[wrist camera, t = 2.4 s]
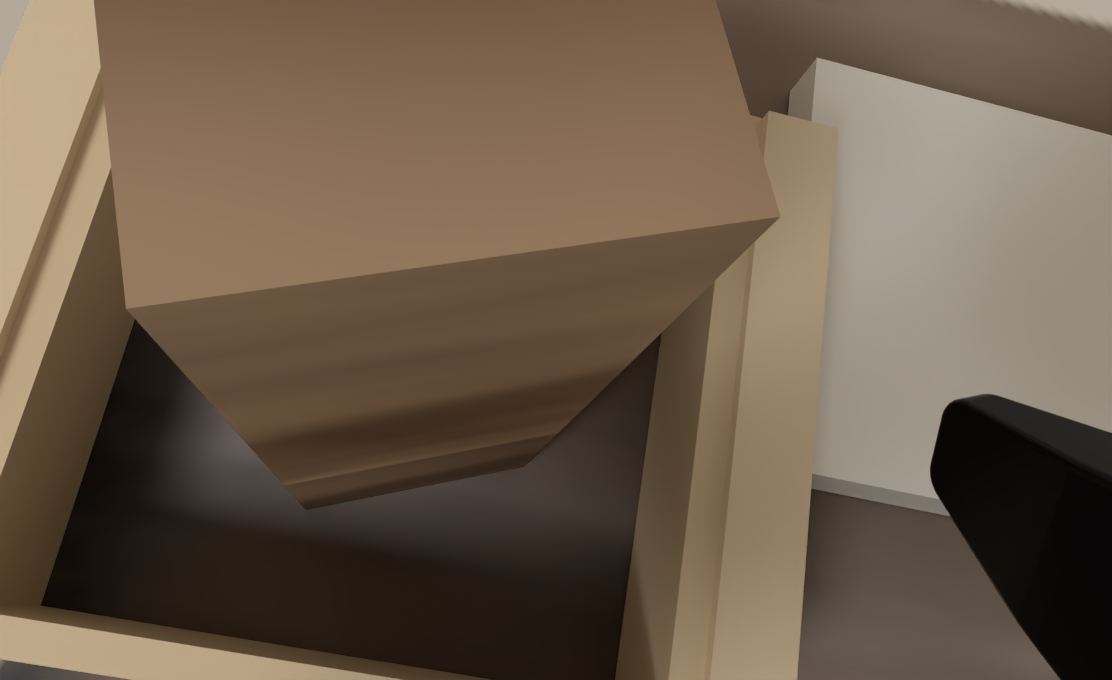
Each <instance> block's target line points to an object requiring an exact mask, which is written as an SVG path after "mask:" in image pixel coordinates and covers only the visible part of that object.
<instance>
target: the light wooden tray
mask: <svg viewBox="0 0 1112 680" xmlns="http://www.w3.org/2000/svg"><path fill="white" fill-rule="evenodd" d="M750 116H751V119H752V122H753V126H754V129H755V133H756V136H757V139H758V143H759V146H760V149H761V153H762V156H763V159H764V163H765V166H766V169H767V173H768V176H769V179H770V183H771V186H772V189H773V193H774V196H775V199H776V203H777V206H778V210H779V213H780V216H781V217H780V218H779V219H778V220H777V221H776V222H775V223H774V224H773V225H772V226H770V227H769V228H768V229H767V230H766V231H765V232H764V233H763V234H762V235H761V236H760V237H759V238H758V239H757V240H756V241H755V242H754V243H753V244H752V245H751V246H750V247H749V248H748V249H747V250H746V251H745V252H744V253H743V254H742V255H741V256H740V257H739V258H738V259H737V260H736V261H735V262H734V263H732V264H731V265H730V266H729V267H728V268H727V269H726V270H725V271H724V272H723V273H722V274H721V275H720V276H719V277H718V278H717V279H716V280H715V281H714V282H713V283H712V284H711V285H710V286H709V287H708V288H707V289H706V290H705V291H704V292H703V293H702V294H701V295H700V296H699V297H698V298H697V299H696V300H694V301H693V302H692V303H691V304H690V305H689V306H688V307H687V308H686V309H685V310H684V311H683V312H682V313H681V314H680V315H679V316H678V317H677V318H676V319H675V320H674V321H673V322H672V323H671V324H670V325H669V326H668V327H667V328H666V329H665V330H664V331H663V332H662V333H661V340H660V348H659V355H658V363H657V370H656V378H655V385H654V392H653V400H652V407H651V415H650V422H649V430H648V437H647V445H646V452H645V459H644V467H643V474H642V482H641V489H640V497H639V504H638V512H637V519H636V526H635V534H634V541H633V549H632V556H631V564H630V571H629V579H628V586H627V594H626V601H625V608H624V616H623V623H622V631H621V638H620V646H619V653H618V661H617V668H616V675H615V680H797V671H798V658H799V645H800V631H801V618H802V605H803V591H804V578H805V565H806V551H807V538H808V525H809V511H810V498H811V485H812V471H813V458H814V445H815V431H816V418H817V405H818V391H819V378H820V364H821V351H822V338H823V324H824V311H825V298H826V284H827V271H828V258H829V244H830V231H831V218H832V204H833V191H834V178H835V164H836V151H837V138H838V128H835V127H831V126H827V125H823V124H819V123H815V122H811V121H808V120H804V119H800V118H796V117H792V116H788V115H784V114H780V113H776V112H772V111H768V112H767V113H766V115H765V116H764V117H763V118H760V117H756V116H752V115H750ZM134 321H135V318H134V317H133V316H132V315H131V314H130V313H129V312H128V310H127V309H126V304H125V294H124V285H123V275H122V266H121V256H120V247H119V237H118V228H117V218H116V208H115V199H114V189H113V180H112V170H111V161H110V151H109V142H108V132H107V123H106V113H105V104H104V94H103V85H102V75H101V66H100V56H99V47H98V37H97V28H96V18H95V9H94V0H30V2H29V5H28V7H27V9H26V12H25V14H24V17H23V19H22V21H21V24H20V26H19V29H18V31H17V33H16V36H15V38H14V41H13V43H12V45H11V48H10V50H9V53H8V55H7V57H6V60H5V62H4V65H3V67H2V69H1V72H0V659H3V660H9V661H16V662H22V663H28V664H35V665H41V666H48V667H54V668H60V669H67V670H73V671H80V672H86V673H93V674H99V675H105V676H112V677H118V678H125V679H131V680H492V679H485V678H479V677H473V676H467V675H461V674H455V673H449V672H443V671H437V670H430V669H424V668H418V667H412V666H406V665H400V664H394V663H388V662H382V661H376V660H369V659H363V658H357V657H351V656H345V655H339V654H333V653H327V652H321V651H314V650H308V649H302V648H296V647H290V646H284V645H278V644H272V643H266V642H260V641H253V640H247V639H241V638H235V637H229V636H223V635H217V634H211V633H205V632H198V631H192V630H186V629H180V628H174V627H168V626H162V625H156V624H150V623H144V622H137V621H131V620H125V619H119V618H113V617H107V616H101V615H95V614H89V613H83V612H76V611H70V610H64V609H58V608H52V607H46V606H41V603H42V600H43V597H44V594H45V591H46V588H47V585H48V582H49V579H50V576H51V573H52V570H53V567H54V564H55V560H56V557H57V554H58V551H59V548H60V545H61V542H62V539H63V536H64V533H65V530H66V527H67V524H68V521H69V518H70V515H71V512H72V509H73V506H74V503H75V500H76V497H77V494H78V491H79V488H80V485H81V482H82V479H83V475H84V472H85V469H86V466H87V463H88V460H89V457H90V454H91V451H92V448H93V445H94V442H95V439H96V436H97V433H98V430H99V427H100V424H101V421H102V418H103V415H104V412H105V409H106V406H107V403H108V400H109V397H110V393H111V390H112V387H113V384H114V381H115V378H116V375H117V372H118V369H119V366H120V363H121V360H122V357H123V354H124V351H125V348H126V345H127V342H128V339H129V336H130V333H131V330H132V327H133V324H134Z"/></svg>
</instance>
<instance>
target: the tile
mask: <svg viewBox="0 0 1112 680" xmlns="http://www.w3.org/2000/svg"><path fill="white" fill-rule="evenodd" d="M788 116H792V117H796V118H800V119H804V120H808V121H811V122H815V123H819V124H823V125H827V126H831V127H835V128H838V138H837V151H836V164H835V178H834V191H833V204H832V218H831V231H830V244H829V258H828V271H827V284H826V298H825V311H824V324H823V338H822V351H821V364H820V378H819V391H818V405H817V418H816V431H815V445H814V458H813V471H812V485H811V489H816V490H821V491H826V492H831V493H836V494H841V495H846V496H851V497H856V498H861V499H866V500H871V501H876V502H881V503H886V504H891V505H896V506H901V507H906V508H911V509H916V510H921V511H926V512H931V513H936V514H941V515H946V516H950V515H949V513H948V512H947V510H946V509H945V507H944V505H943V504H942V502H941V501H940V499H939V497H938V496H937V494H936V492H935V490H934V488H933V485H932V482H931V477H930V464H931V459H932V455H933V451H934V447H935V442H936V438H937V434H938V430H939V426H940V421H941V417H942V414H943V411H944V409H945V408H946V406H947V405H948V404H949V403H950V402H952V401H953V400H956V399H960V398H965V397H970V396H975V395H980V394H994V395H998V396H1001V397H1004V398H1007V399H1010V400H1013V401H1016V402H1019V403H1022V404H1025V405H1028V406H1031V407H1034V408H1037V409H1040V410H1043V411H1047V412H1050V413H1053V414H1056V415H1059V416H1062V417H1065V418H1068V419H1071V420H1074V421H1077V422H1080V423H1083V424H1086V425H1089V426H1092V427H1095V428H1098V429H1101V430H1104V431H1108V432H1111V433H1112V135H1108V134H1104V133H1100V132H1097V131H1093V130H1089V129H1085V128H1082V127H1078V126H1074V125H1070V124H1066V123H1063V122H1059V121H1055V120H1051V119H1047V118H1044V117H1040V116H1036V115H1032V114H1029V113H1025V112H1021V111H1017V110H1013V109H1010V108H1006V107H1002V106H998V105H995V104H991V103H987V102H983V101H979V100H976V99H972V98H968V97H964V96H960V95H957V94H953V93H949V92H945V91H942V90H938V89H934V88H930V87H926V86H923V85H919V84H915V83H911V82H907V81H904V80H900V79H896V78H892V77H889V76H885V75H881V74H877V73H873V72H870V71H866V70H862V69H858V68H855V67H851V66H847V65H843V64H839V63H836V62H832V61H828V60H824V59H820V58H816V59H815V61H814V62H813V63H812V64H811V66H810V67H809V68H808V70H807V71H806V72H805V73H804V75H803V76H802V77H801V78H800V80H799V81H798V82H797V83H796V85H795V86H794V87H793V88H792V90H791V91H790V98H789V109H788Z"/></svg>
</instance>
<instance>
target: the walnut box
mask: <svg viewBox="0 0 1112 680" xmlns="http://www.w3.org/2000/svg"><path fill="white" fill-rule="evenodd" d="M94 9H95V18H96V28H97V37H98V47H99V56H100V66H101V75H102V85H103V94H104V104H105V113H106V123H107V132H108V142H109V151H110V161H111V170H112V180H113V189H114V199H115V208H116V218H117V228H118V237H119V247H120V256H121V266H122V275H123V285H124V294H125V304H126V309H127V310H128V312H129V313H130V314H131V315H132V316H133V317H134V318H135V319H136V320H137V322H138V323H139V324H140V325H141V326H142V327H143V328H144V329H145V330H146V332H147V333H148V334H149V335H150V336H151V337H152V338H153V339H154V341H155V342H156V343H157V344H158V345H159V346H160V347H161V348H162V349H163V351H164V352H165V353H166V354H167V355H168V356H169V357H170V358H171V360H172V361H173V362H174V363H175V364H176V365H177V366H178V367H179V368H180V370H181V371H182V372H183V373H184V374H185V375H186V376H187V377H188V378H189V380H190V381H191V382H192V383H193V384H194V385H195V386H196V387H197V389H198V390H199V391H200V392H201V393H202V394H203V395H204V396H205V397H206V399H207V400H208V401H209V402H210V403H211V404H212V405H213V406H214V407H215V409H216V410H217V411H218V412H219V413H220V414H221V415H222V416H223V418H224V419H225V420H226V421H227V422H228V423H229V424H230V425H231V426H232V428H233V429H234V430H235V431H236V432H237V433H238V434H239V435H240V436H241V438H242V439H243V440H244V441H245V442H246V443H247V444H248V445H249V447H250V448H251V449H252V450H253V451H254V452H255V453H256V454H257V455H258V457H259V458H260V459H261V460H262V461H263V462H264V463H265V464H266V465H267V467H268V468H269V469H270V470H271V471H272V472H273V473H274V474H275V476H276V477H277V478H278V479H279V480H280V481H281V482H282V483H283V484H284V486H285V487H286V488H287V489H288V490H289V491H290V492H291V493H292V494H293V496H294V497H295V498H296V499H297V500H298V501H299V502H300V503H301V505H302V506H303V507H304V508H305V509H306V510H307V509H312V508H317V507H322V506H327V505H333V504H338V503H343V502H348V501H353V500H358V499H363V498H368V497H373V496H378V495H383V494H388V493H393V492H398V491H403V490H408V489H413V488H418V487H424V486H429V485H434V484H439V483H444V482H449V481H454V480H459V479H464V478H469V477H474V476H479V475H484V474H489V473H494V472H499V471H504V470H509V469H515V468H520V467H524V466H525V465H526V464H527V463H528V462H529V461H530V460H531V459H532V458H533V457H534V456H535V455H536V454H537V453H538V452H539V451H540V450H541V449H542V448H543V447H545V446H546V445H547V444H548V443H549V442H550V441H551V440H552V439H553V438H554V437H555V436H556V435H557V434H558V433H559V432H560V431H561V430H562V429H563V428H564V427H565V426H566V425H567V424H568V423H569V422H570V421H571V420H572V419H573V418H574V417H575V416H576V415H577V414H578V413H579V412H580V411H581V410H583V409H584V408H585V407H586V406H587V405H588V404H589V403H590V402H591V401H592V400H593V399H594V398H595V397H596V396H597V395H598V394H599V393H600V392H601V391H602V390H603V389H604V388H605V387H606V386H607V385H608V384H609V383H610V382H611V381H612V380H613V379H614V378H615V377H616V376H617V375H618V374H620V373H621V372H622V371H623V370H624V369H625V368H626V367H627V366H628V365H629V364H630V363H631V362H632V361H633V360H634V359H635V358H636V357H637V356H638V355H639V354H640V353H641V352H642V351H643V350H644V349H645V348H646V347H647V346H648V345H649V344H650V343H651V342H652V341H653V340H654V339H655V338H656V337H658V336H659V335H660V334H661V333H662V332H663V331H664V330H665V329H666V328H667V327H668V326H669V325H670V324H671V323H672V322H673V321H674V320H675V319H676V318H677V317H678V316H679V315H680V314H681V313H682V312H683V311H684V310H685V309H686V308H687V307H688V306H689V305H690V304H691V303H692V302H693V301H694V300H696V299H697V298H698V297H699V296H700V295H701V294H702V293H703V292H704V291H705V290H706V289H707V288H708V287H709V286H710V285H711V284H712V283H713V282H714V281H715V280H716V279H717V278H718V277H719V276H720V275H721V274H722V273H723V272H724V271H725V270H726V269H727V268H728V267H729V266H730V265H731V264H732V263H734V262H735V261H736V260H737V259H738V258H739V257H740V256H741V255H742V254H743V253H744V252H745V251H746V250H747V249H748V248H749V247H750V246H751V245H752V244H753V243H754V242H755V241H756V240H757V239H758V238H759V237H760V236H761V235H762V234H763V233H764V232H765V231H766V230H767V229H768V228H769V227H770V226H772V225H773V224H774V223H775V222H776V221H777V220H778V219H779V218H780V217H781V216H780V213H779V210H778V206H777V203H776V199H775V196H774V193H773V189H772V186H771V183H770V179H769V176H768V173H767V169H766V166H765V163H764V159H763V156H762V153H761V149H760V146H759V143H758V139H757V136H756V133H755V129H754V126H753V122H752V119H751V116H750V112H749V109H748V106H747V102H746V99H745V96H744V92H743V89H742V86H741V82H740V79H739V76H738V72H737V69H736V66H735V62H734V59H733V56H732V52H731V49H730V45H729V42H728V39H727V35H726V32H725V29H724V25H723V22H722V19H721V15H720V12H719V9H718V5H717V2H716V0H94Z"/></svg>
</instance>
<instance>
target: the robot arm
mask: <svg viewBox="0 0 1112 680" xmlns="http://www.w3.org/2000/svg"><path fill="white" fill-rule="evenodd" d="M930 477H931V482H932V485H933V488H934V490H935V492H936V494H937V496H938V497H939V499H940V501H941V502H942V504H943V505H944V507H945V509H946V510H947V512H948V513H949V515H950V517H951V518H952V520H953V521H954V523H955V525H956V526H957V528H958V529H959V531H960V533H961V534H962V536H963V537H964V539H965V541H966V542H967V544H968V545H969V547H970V549H971V550H972V552H973V553H974V555H975V557H976V558H977V560H978V561H979V563H980V565H981V566H982V568H983V569H984V571H985V573H986V574H987V576H988V577H989V579H990V581H991V582H992V584H993V585H994V587H995V589H996V590H997V592H998V593H999V595H1000V596H1001V598H1002V600H1003V601H1004V603H1005V604H1006V606H1007V607H1008V609H1009V610H1010V612H1011V613H1012V615H1013V616H1014V618H1015V619H1016V621H1017V622H1018V624H1019V625H1020V626H1021V628H1022V629H1023V631H1024V632H1025V633H1026V635H1027V636H1028V637H1029V639H1030V640H1031V642H1032V643H1033V644H1034V646H1035V647H1036V648H1037V650H1038V651H1039V652H1040V653H1041V655H1042V656H1043V657H1044V659H1045V660H1046V661H1047V663H1048V664H1049V665H1050V667H1051V668H1052V669H1053V670H1054V672H1055V673H1056V674H1057V676H1058V677H1059V678H1060V680H1112V433H1111V432H1108V431H1104V430H1101V429H1098V428H1095V427H1092V426H1089V425H1086V424H1083V423H1080V422H1077V421H1074V420H1071V419H1068V418H1065V417H1062V416H1059V415H1056V414H1053V413H1050V412H1047V411H1043V410H1040V409H1037V408H1034V407H1031V406H1028V405H1025V404H1022V403H1019V402H1016V401H1013V400H1010V399H1007V398H1004V397H1001V396H998V395H994V394H980V395H975V396H970V397H965V398H960V399H956V400H953V401H952V402H950V403H949V404H948V405H947V406H946V408H945V409H944V411H943V414H942V417H941V421H940V426H939V430H938V434H937V438H936V442H935V447H934V451H933V455H932V459H931V464H930Z"/></svg>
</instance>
